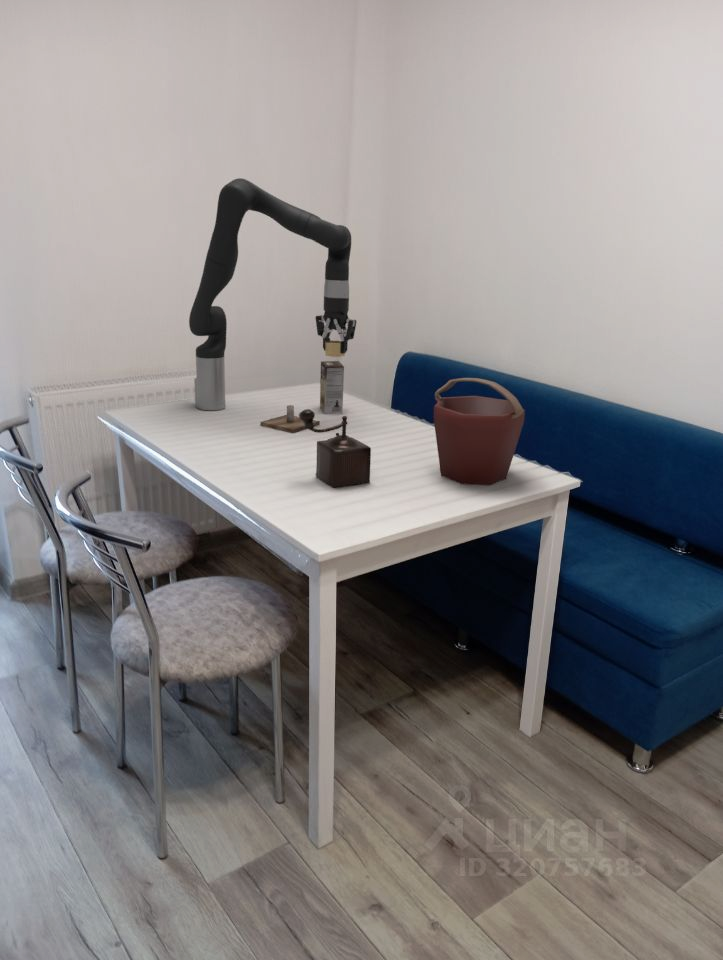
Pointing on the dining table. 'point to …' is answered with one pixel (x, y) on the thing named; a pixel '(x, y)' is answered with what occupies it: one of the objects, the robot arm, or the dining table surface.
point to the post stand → (287, 422)
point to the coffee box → (331, 387)
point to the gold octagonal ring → (333, 348)
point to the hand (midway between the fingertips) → (334, 351)
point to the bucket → (477, 434)
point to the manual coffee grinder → (339, 456)
